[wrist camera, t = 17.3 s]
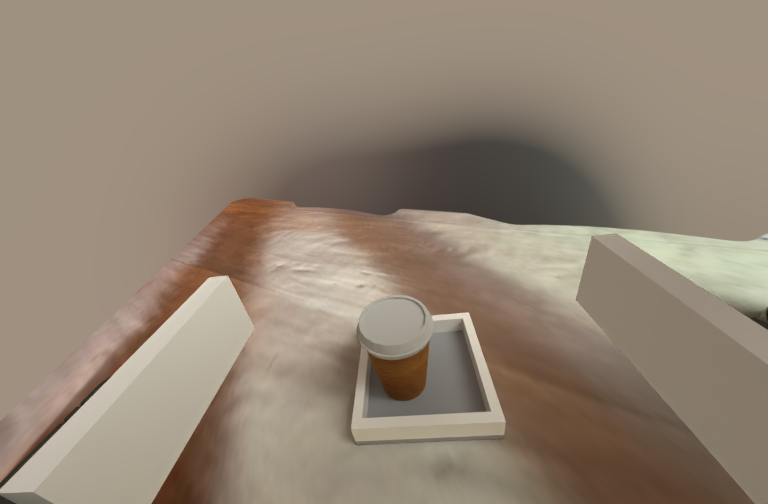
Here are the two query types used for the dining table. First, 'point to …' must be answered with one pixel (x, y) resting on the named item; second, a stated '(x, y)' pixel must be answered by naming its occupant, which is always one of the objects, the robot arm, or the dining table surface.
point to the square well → (433, 394)
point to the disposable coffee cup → (397, 343)
